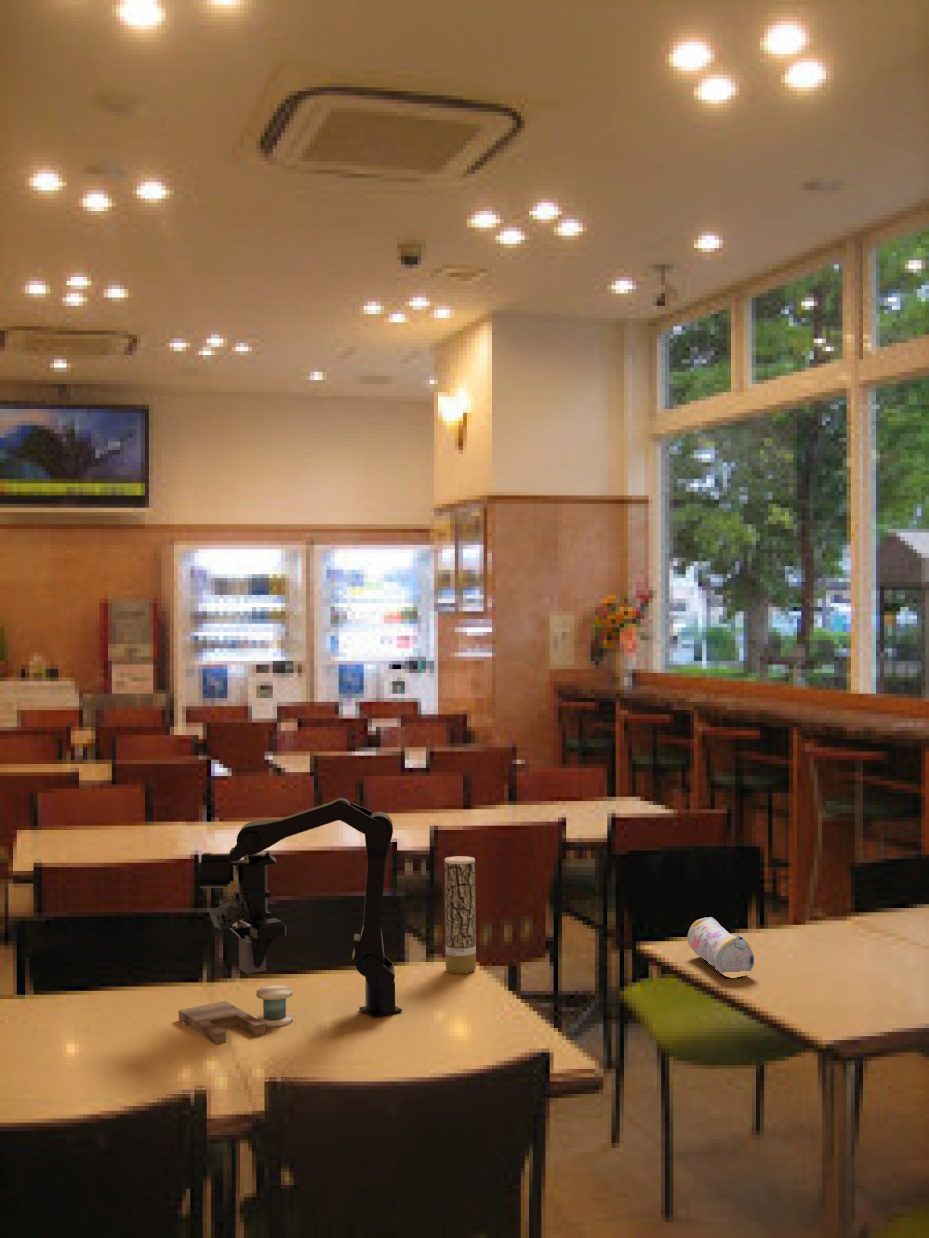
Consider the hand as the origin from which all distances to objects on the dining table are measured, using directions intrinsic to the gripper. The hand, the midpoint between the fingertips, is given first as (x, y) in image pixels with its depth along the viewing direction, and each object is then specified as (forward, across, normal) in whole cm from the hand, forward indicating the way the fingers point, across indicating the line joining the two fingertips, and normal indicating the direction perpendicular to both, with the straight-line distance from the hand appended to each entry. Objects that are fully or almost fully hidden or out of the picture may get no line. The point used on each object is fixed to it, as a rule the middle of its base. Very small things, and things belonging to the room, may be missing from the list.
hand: (253, 964), depth 255 cm
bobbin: (+10, +6, +2) cm, 12 cm away
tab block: (+1, 0, 0) cm, 1 cm away
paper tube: (+10, -3, +52) cm, 53 cm away
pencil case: (+10, +29, +100) cm, 105 cm away
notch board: (+10, +3, -8) cm, 13 cm away
